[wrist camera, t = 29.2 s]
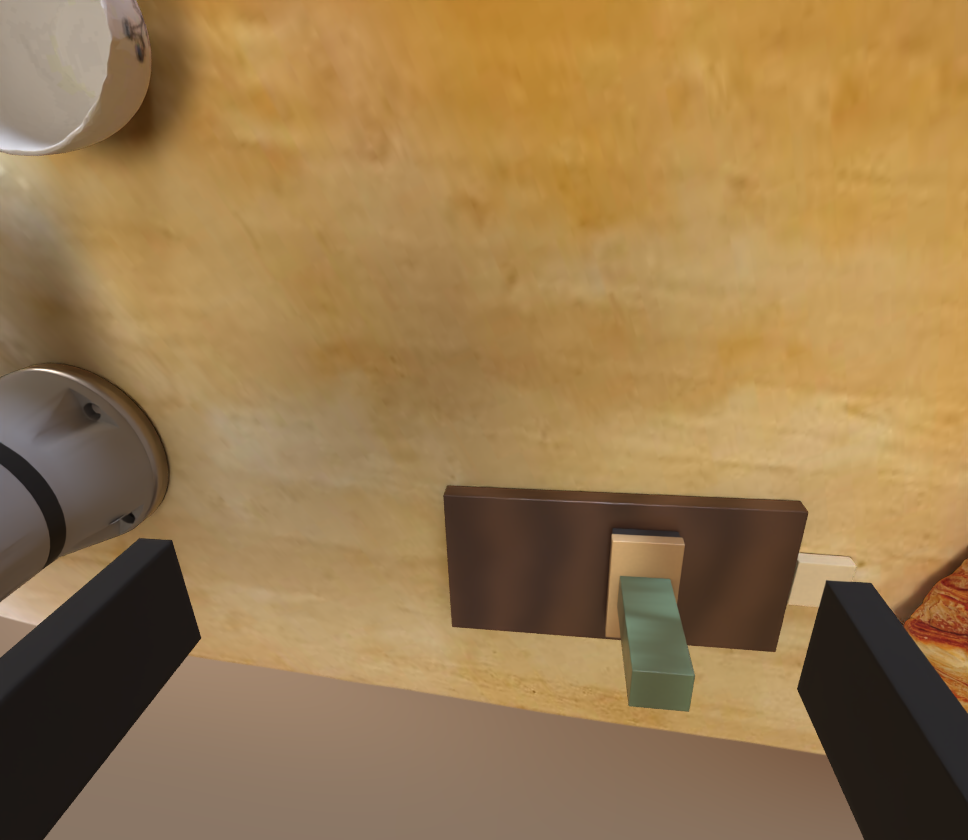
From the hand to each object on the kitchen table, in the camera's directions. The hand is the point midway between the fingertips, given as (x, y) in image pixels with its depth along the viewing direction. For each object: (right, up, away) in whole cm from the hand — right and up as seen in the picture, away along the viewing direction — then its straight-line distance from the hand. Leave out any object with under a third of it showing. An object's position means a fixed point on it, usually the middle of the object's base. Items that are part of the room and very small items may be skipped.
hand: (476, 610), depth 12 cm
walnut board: (+10, -8, +33) cm, 36 cm away
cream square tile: (+25, -8, +31) cm, 41 cm away
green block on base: (+12, -8, +32) cm, 35 cm away
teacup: (-24, +27, +24) cm, 43 cm away
